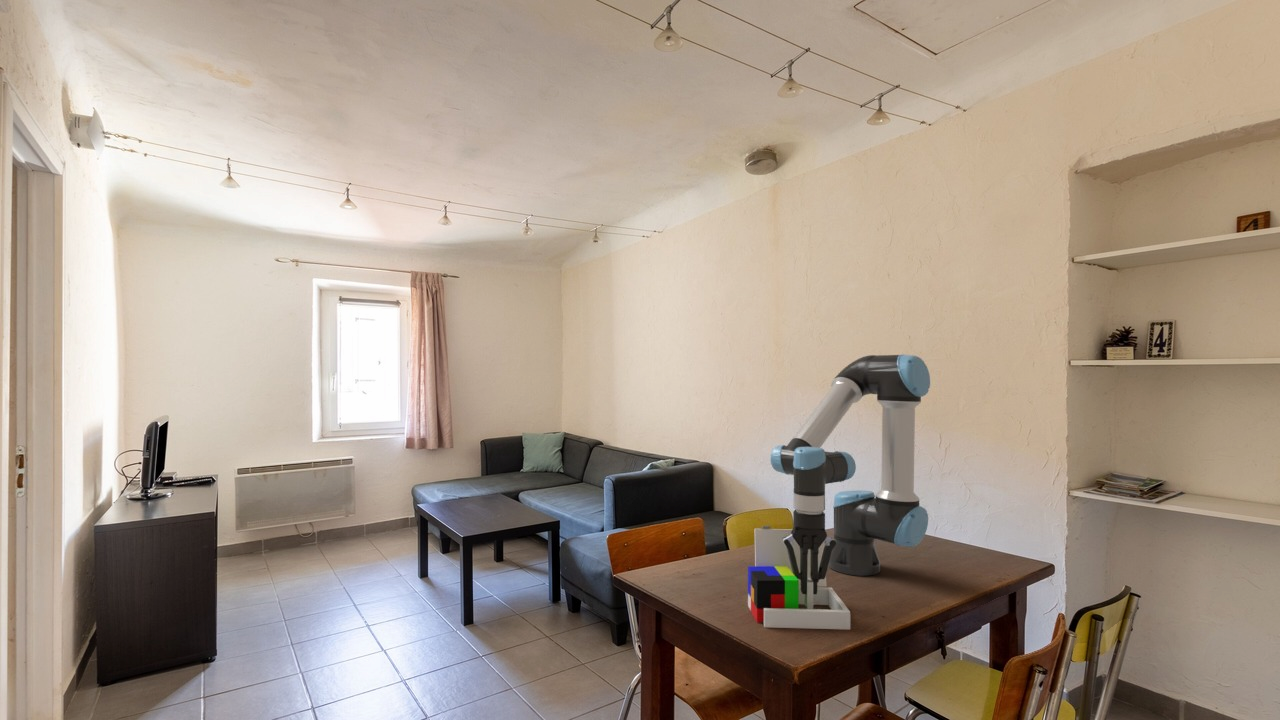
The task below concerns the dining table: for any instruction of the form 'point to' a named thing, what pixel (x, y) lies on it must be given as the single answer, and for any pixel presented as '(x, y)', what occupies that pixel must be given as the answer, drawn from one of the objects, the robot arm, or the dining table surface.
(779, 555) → the cover
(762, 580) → the puzzle toy
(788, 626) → the white hinged box
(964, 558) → the dining table surface
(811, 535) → the robot arm
